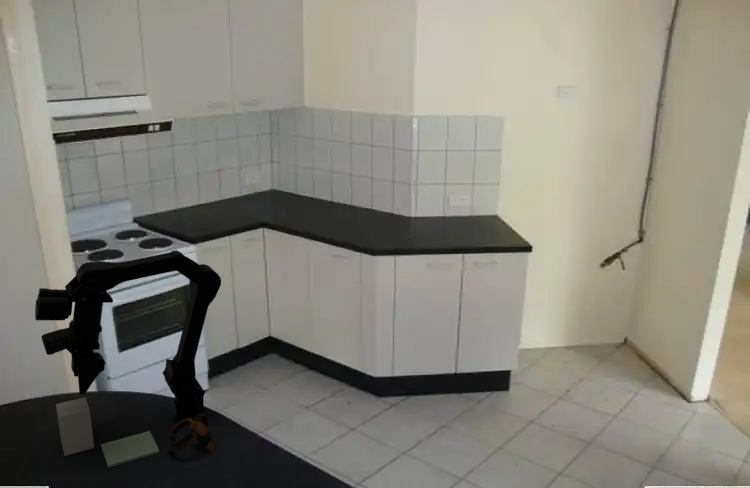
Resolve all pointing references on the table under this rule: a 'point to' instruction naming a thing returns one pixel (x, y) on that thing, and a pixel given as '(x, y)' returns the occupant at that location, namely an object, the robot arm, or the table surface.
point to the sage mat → (129, 449)
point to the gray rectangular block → (75, 426)
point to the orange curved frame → (191, 433)
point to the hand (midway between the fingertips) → (79, 384)
